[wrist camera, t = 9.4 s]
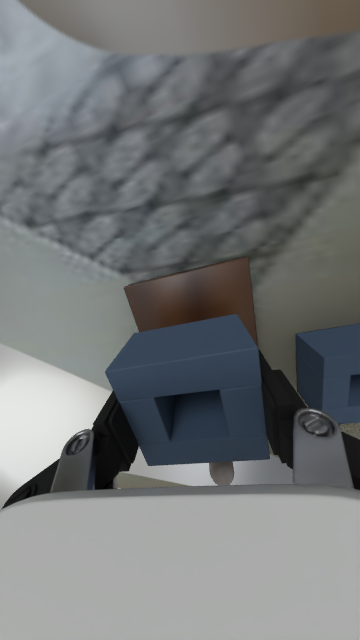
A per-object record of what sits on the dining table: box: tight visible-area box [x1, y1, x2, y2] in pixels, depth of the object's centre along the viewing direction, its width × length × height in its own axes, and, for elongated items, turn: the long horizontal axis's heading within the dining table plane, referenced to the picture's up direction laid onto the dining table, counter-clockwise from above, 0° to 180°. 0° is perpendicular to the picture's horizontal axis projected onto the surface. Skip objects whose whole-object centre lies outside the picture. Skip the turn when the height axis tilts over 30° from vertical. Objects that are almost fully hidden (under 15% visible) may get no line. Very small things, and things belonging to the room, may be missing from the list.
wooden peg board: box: [124, 257, 258, 486], centre depth 16 cm, size 10×22×7 cm, turn 14°
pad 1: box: [105, 314, 270, 466], centre depth 10 cm, size 7×7×4 cm
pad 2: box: [296, 324, 360, 424], centre depth 15 cm, size 7×7×4 cm
